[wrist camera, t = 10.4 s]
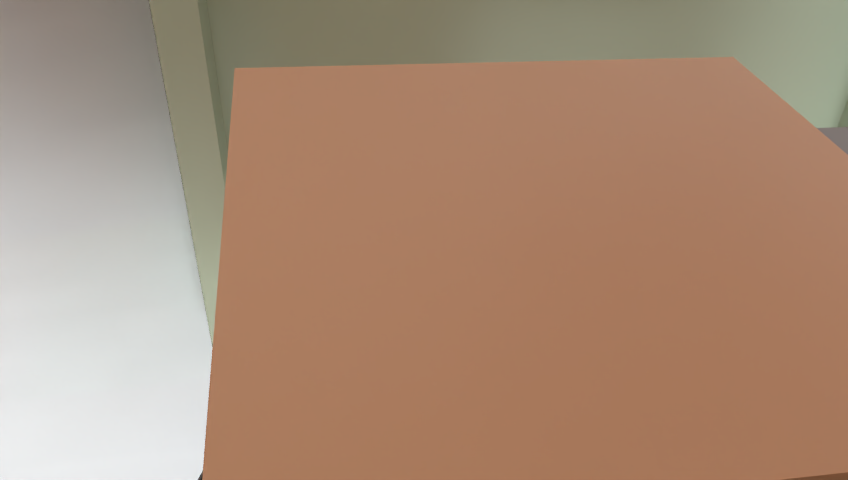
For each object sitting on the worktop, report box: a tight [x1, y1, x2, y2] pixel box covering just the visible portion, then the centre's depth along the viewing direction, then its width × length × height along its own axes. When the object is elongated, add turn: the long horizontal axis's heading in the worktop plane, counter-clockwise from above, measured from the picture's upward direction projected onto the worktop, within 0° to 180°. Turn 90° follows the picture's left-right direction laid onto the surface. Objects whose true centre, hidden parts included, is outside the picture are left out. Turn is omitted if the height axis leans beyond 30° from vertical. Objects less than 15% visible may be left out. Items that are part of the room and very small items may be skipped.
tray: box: [149, 0, 848, 347], centre depth 17 cm, size 16×13×2 cm
